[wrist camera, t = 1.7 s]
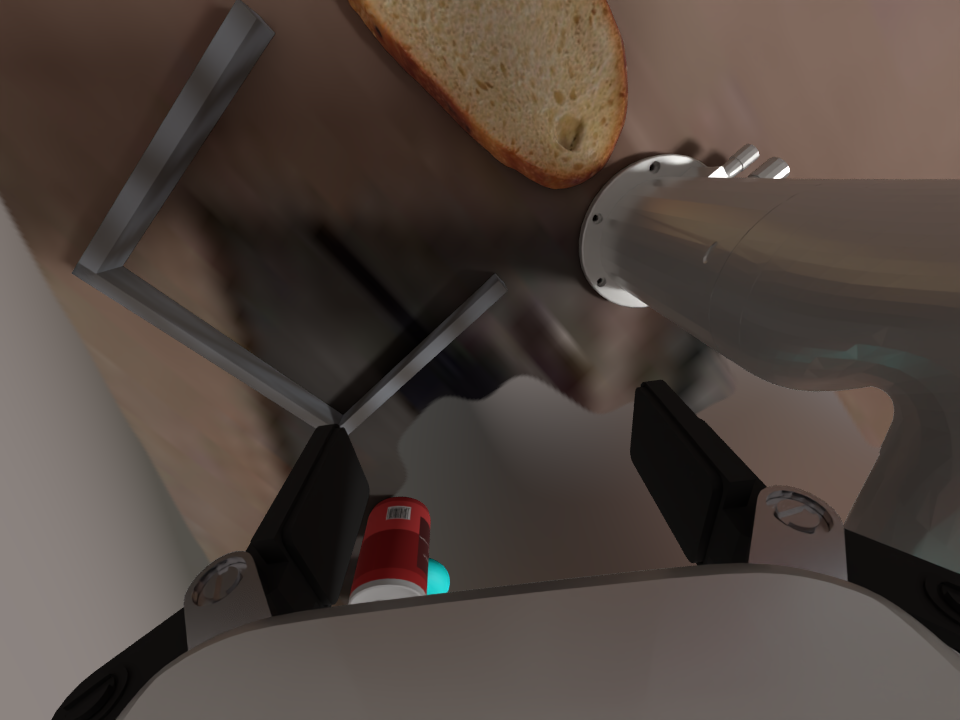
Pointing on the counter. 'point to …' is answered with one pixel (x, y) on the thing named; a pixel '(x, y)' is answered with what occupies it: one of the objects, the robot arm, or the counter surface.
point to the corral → (151, 188)
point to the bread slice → (517, 76)
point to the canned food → (393, 552)
